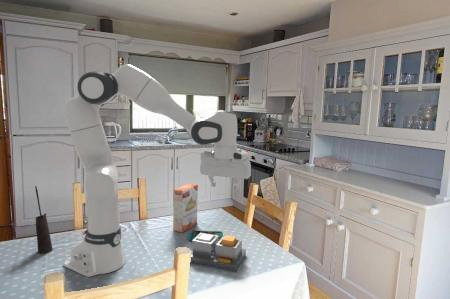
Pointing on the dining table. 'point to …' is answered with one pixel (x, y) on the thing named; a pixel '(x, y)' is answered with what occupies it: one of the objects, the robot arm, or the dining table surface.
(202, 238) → the breaker
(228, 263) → the twin switch block
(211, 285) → the dining table surface
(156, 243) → the dining table surface
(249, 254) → the dining table surface
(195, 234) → the digital multimeter
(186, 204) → the cracker box
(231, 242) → the orange cube
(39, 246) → the butter churn
